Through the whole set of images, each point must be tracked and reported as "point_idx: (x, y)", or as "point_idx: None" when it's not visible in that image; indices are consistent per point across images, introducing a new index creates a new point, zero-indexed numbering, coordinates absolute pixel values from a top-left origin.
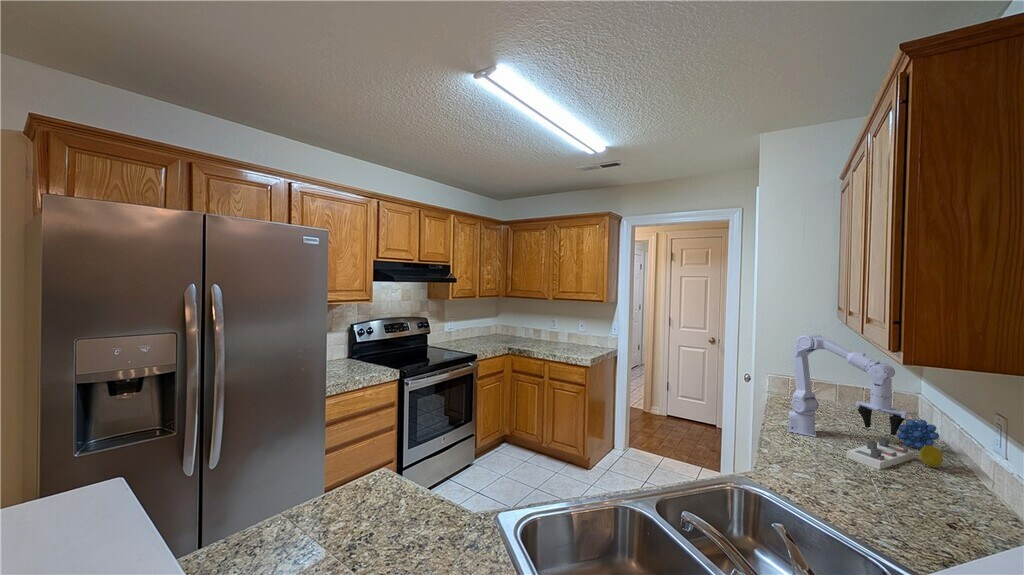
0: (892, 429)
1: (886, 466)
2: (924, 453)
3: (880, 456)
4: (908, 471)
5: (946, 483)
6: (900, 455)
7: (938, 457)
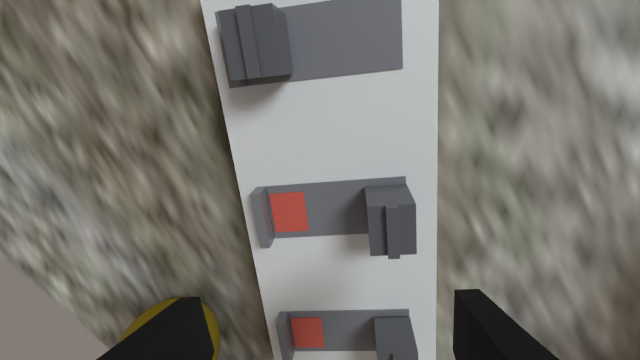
0: (124, 350)
1: None
2: None
3: None
4: (174, 143)
5: (48, 171)
6: (259, 257)
7: None
